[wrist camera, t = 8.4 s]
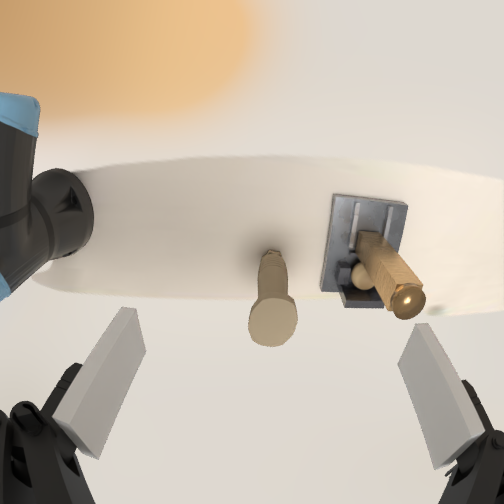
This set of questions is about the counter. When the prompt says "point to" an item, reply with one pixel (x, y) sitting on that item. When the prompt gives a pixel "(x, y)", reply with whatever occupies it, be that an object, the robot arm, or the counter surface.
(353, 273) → the round brown knob
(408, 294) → the lever
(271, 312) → the handle
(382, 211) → the slotted metal plate
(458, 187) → the counter surface
